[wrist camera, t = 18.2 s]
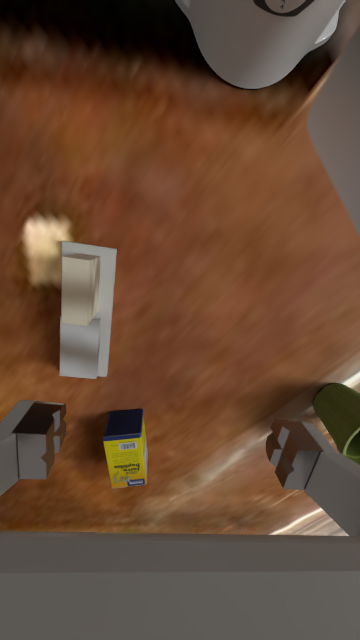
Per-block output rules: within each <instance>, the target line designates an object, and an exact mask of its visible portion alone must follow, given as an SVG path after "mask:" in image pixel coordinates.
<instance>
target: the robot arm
mask: <svg viewBox="0 0 360 640" xmlns="http://www.w3.org/2000/svg"><path fill="white" fill-rule="evenodd" d="M345 1H346V0H175V2H176V3H177V5H178V6H179V7H180V9H181V10H182V11H183V13H184V14H185V15H186V16H187V18H188V19H189V21H190V23H191V26H192V28H193V32H194V35H195V38H196V41H197V44H198V46H199V48H200V51H201V53H202V55H203V57H204V58H205V60H206V61H207V63H208V64H209V66H210V67H211V68H212V69H213V70H214V72H215V73H216V74H217V75H219V76H220V77H221V78H222V79H224V80H225V81H227V82H228V83H230V84H232V85H235V86H238V87H241V88H247V89H257V88H263V87H266V86H269V85H272V84H274V83H276V82H277V81H279V80H281V79H282V78H283V77H285V76H286V75H287V74H288V73H289V72H290V71H291V70H292V69H293V68H294V67H295V66H296V65H297V64H298V62H299V61H300V60H301V59H302V58H303V57H304V55H305V54H307V53H308V52H309V51H311V50H313V49H315V48H317V47H319V46H321V45H323V44H324V43H325V42H327V41H328V40H329V38H330V37H331V35H332V34H333V33H334V31H335V29H336V26H337V21H338V13H339V9H340V8H341V6H342V5H343V3H344V2H345ZM65 414H66V405H65V404H64V403H53V402H43V401H31V400H21V401H19V402H18V403H17V404H16V405H15V406H14V407H13V409H12V410H11V411H10V412H9V413H8V414H7V416H6V417H5V418H4V419H3V420H2V422H1V423H0V495H2V494H3V493H4V492H5V491H6V490H8V489H9V488H10V487H11V486H12V485H14V484H15V483H16V482H17V481H18V479H47V477H48V474H49V472H50V470H51V468H52V466H53V464H54V459H55V454H56V453H57V452H58V451H60V448H61V446H62V444H63V440H64V437H65V431H66V422H65V421H64V420H63V418H64V416H65ZM271 430H272V433H271V434H270V435H269V436H268V437H267V441H266V453H267V457H268V459H269V461H270V462H271V463H272V464H273V465H274V466H275V467H276V470H275V473H276V475H277V477H278V479H279V481H280V483H281V485H282V487H283V489H297V490H305V492H306V493H307V494H308V495H309V496H310V497H311V498H312V499H313V500H314V501H315V502H316V503H317V504H318V505H319V506H320V507H321V508H322V509H323V510H324V511H325V512H326V513H327V514H328V515H329V516H330V517H331V518H332V519H333V520H334V521H335V522H336V523H337V524H338V525H339V526H340V527H341V528H342V529H343V530H344V531H345V532H346V533H347V534H348V535H349V536H304V535H234V534H166V533H97V532H28V531H0V640H360V465H359V464H357V463H356V462H354V461H353V460H351V459H349V458H348V457H346V456H345V455H343V454H342V453H337V452H336V451H335V449H334V448H333V447H332V446H331V444H330V443H329V442H328V441H327V440H326V438H325V437H324V436H323V435H322V434H321V432H320V431H319V430H318V429H317V427H316V426H315V425H314V424H313V423H311V422H309V421H286V420H274V421H273V422H272V425H271Z"/></svg>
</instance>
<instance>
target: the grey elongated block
mask: <svg viewBox="0 0 360 640" xmlns="http://www.w3.org/2000/svg"><path fill="white" fill-rule="evenodd" d="M100 265H101V256H97V255H90V254H83V253H75V254H71V255H67V256H62V315H61V316H60V376H70V377H81V378H92V379H96V378H97V375H98V363H99V347H100V331H101V318H100V317H94V316H95V315H96V313H97V312H98V300H99V283H100Z"/></svg>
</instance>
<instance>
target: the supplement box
mask: <svg viewBox="0 0 360 640" xmlns="http://www.w3.org/2000/svg"><path fill="white" fill-rule="evenodd" d="M103 443H104V448H105V454H106V458H107V464H108V469H109V475H110V480H111V486H112V488H120V487H128V486H137V485H146V484H147V460H148V451H147V443H146V434H145V425H144V417H143V409H136V410H125V411H114V412H110V413H109V416H108V421H107V425H106V429H105V432H104V435H103Z"/></svg>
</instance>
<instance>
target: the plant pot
mask: <svg viewBox="0 0 360 640" xmlns="http://www.w3.org/2000/svg"><path fill="white" fill-rule="evenodd" d="M313 405H314V409H315V411H316V413H317V414H318V416H319V418H320V419H321V421H322V422H323V424H324V426H325V427H326V429H327V430H328V432H329V434H330V435H331V437H332V438H333V440H334V442H335V443H336V445H337V449H338V450H339V452H340V453H342V454H343V455H345V456H346V457H348V458H349V459H351V460H353V461H354V462H356V463H357V464H359V465H360V393H358V392H356V391H354V390H353V389H351V388H349V387H347V386H345V385H343V384H338V383H335V384H330V385H328V386H326V387H324V388H323V389H322V391H321V392H319V393H318V394H317V395H316V396H315V399H314V402H313Z"/></svg>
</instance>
